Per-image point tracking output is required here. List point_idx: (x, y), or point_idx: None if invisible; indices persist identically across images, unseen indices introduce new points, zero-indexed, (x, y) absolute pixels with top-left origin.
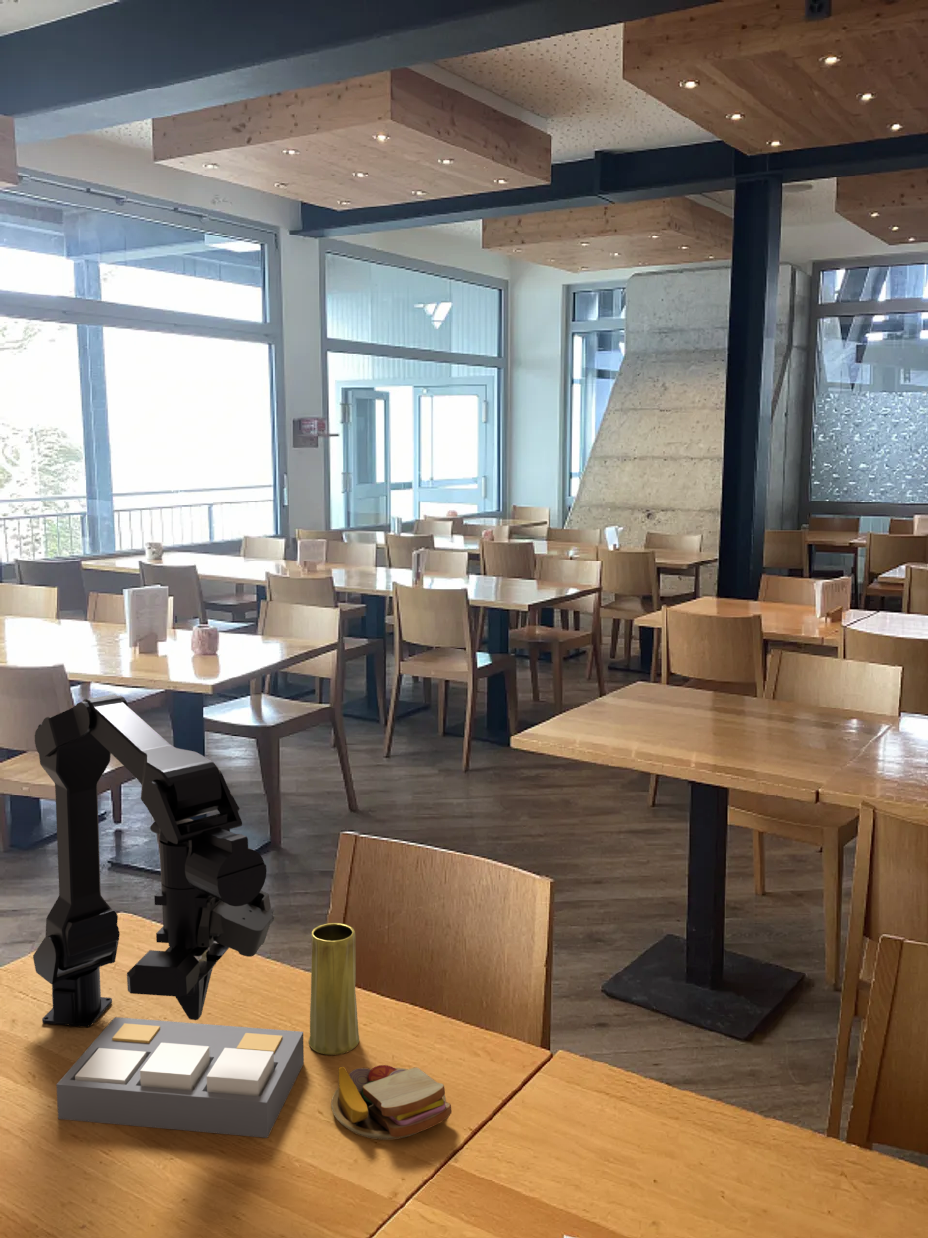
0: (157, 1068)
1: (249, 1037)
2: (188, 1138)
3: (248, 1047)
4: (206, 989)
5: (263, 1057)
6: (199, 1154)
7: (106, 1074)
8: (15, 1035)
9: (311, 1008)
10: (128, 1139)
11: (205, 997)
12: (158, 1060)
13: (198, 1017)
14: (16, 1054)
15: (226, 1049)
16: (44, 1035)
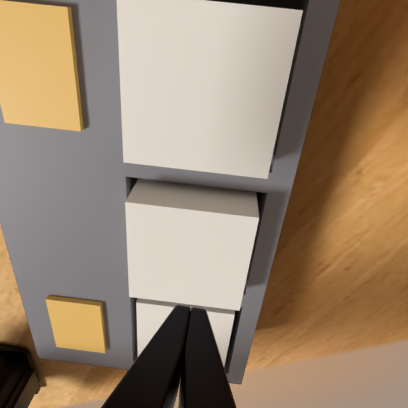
0: (231, 285)
1: (22, 107)
2: (301, 158)
3: (70, 98)
4: (131, 399)
5: (158, 23)
6: (356, 125)
7: (216, 340)
8: (71, 401)
9: None
10: (294, 248)
11: (141, 358)
12: (199, 289)
13: (206, 315)
14: (108, 393)
15: (131, 156)
16: (62, 381)
